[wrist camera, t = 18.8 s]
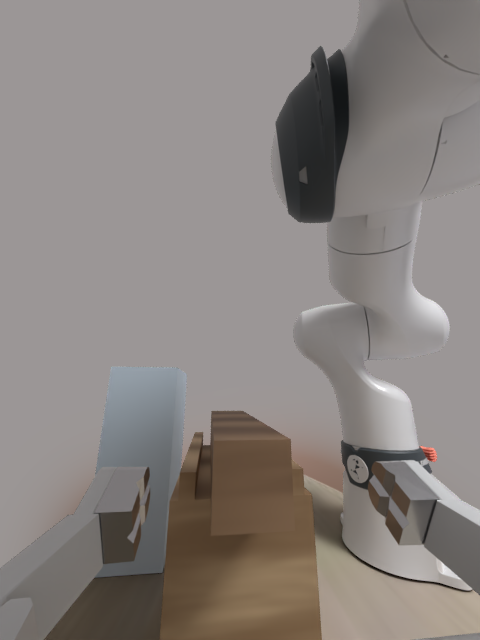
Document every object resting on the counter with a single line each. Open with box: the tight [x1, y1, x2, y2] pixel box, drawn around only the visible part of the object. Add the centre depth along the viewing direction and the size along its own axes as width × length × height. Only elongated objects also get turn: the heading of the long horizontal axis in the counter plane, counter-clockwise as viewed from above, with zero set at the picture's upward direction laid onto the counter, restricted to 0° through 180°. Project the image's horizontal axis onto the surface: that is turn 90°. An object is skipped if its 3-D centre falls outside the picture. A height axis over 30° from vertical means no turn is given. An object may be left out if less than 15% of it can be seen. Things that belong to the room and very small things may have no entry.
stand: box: [94, 367, 187, 578], centre depth 42 cm, size 16×10×26 cm, turn 7°
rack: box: [160, 432, 322, 640], centre depth 21 cm, size 16×9×18 cm, turn 7°
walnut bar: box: [210, 411, 295, 536], centre depth 22 cm, size 20×4×4 cm, turn 7°
